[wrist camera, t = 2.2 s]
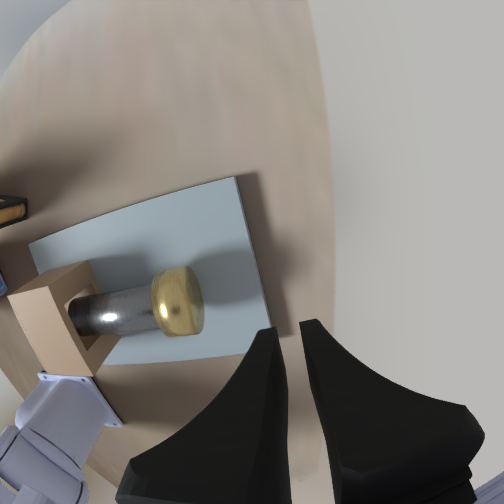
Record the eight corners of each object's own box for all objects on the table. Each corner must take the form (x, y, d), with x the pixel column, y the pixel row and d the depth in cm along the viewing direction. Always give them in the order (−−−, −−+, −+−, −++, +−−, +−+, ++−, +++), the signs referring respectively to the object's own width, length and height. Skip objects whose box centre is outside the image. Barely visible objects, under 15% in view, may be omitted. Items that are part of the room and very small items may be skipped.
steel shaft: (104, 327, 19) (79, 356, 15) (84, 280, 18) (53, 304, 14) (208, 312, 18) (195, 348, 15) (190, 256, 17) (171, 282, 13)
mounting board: (87, 357, 23) (57, 397, 17) (36, 240, 19) (-12, 263, 13) (275, 338, 21) (277, 396, 15) (235, 175, 17) (221, 181, 11)
